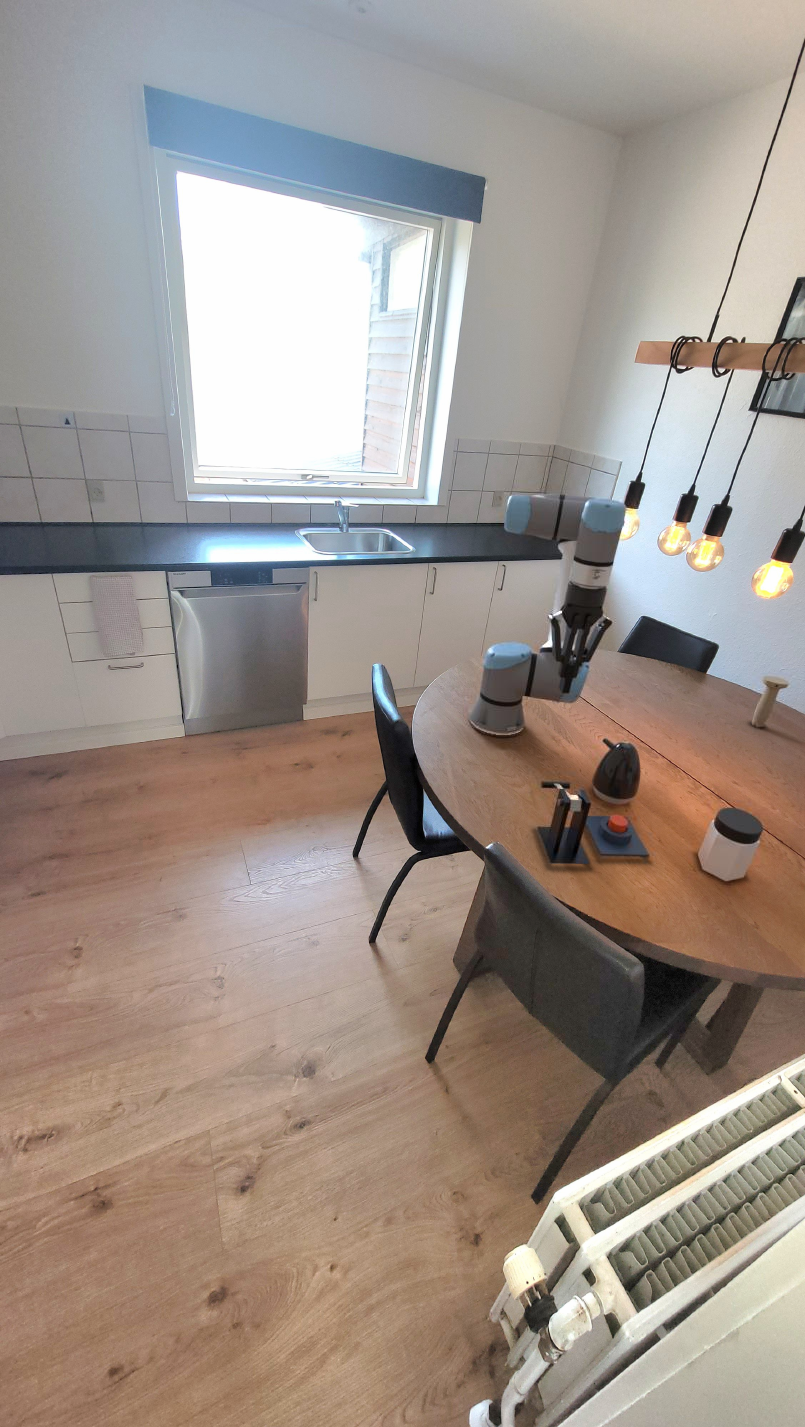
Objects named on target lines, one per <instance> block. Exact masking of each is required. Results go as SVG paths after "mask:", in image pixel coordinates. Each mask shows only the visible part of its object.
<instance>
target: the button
mask: <svg viewBox="0 0 805 1427" xmlns="http://www.w3.org/2000/svg"><path fill="white" fill-rule="evenodd" d="M610 816H611V817H610V820H609V823H608V828H609V829H611V830H612V831H614V832H617V833H624V832H625V831H626V828H627V825H628V821H627V819H626V818H624V817H625V816H623V815H621V814H612V815H610Z"/></svg>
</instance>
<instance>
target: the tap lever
mask: <svg viewBox="0 0 805 1427" xmlns="http://www.w3.org/2000/svg"><path fill="white" fill-rule="evenodd" d="M540 787H541V789H554V790H555V791H556V792H557V793H558V794H559V790H560V789H565V791H566V793H567V795H568V797H569V799H570V802H571V804H570V808H569V812H574V811H581V804H582V800H581V799H580V798H579V797H578V794H577V795H576V794H570V793H569V791H567V790H569V789H571V782H569V781H545V780H544V781H541V782H540Z"/></svg>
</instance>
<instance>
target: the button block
mask: <svg viewBox="0 0 805 1427" xmlns="http://www.w3.org/2000/svg"><path fill="white" fill-rule="evenodd" d="M611 816H612V815H609V816H607V815H588V817H587V820H586V824H585V827H586V829H587V830H588V832H589V834H590V837H591V839H592V841H593V843H594V845H595V847H596V849H597V851H598V853H599V856H604V857H606V856H607V857H610V856H611V857H650V854H649V852H648V850H647V848H646V847H645V845H644V843H643V841H642V840H641V838H640V837H639V835H638V833H637V832H636V830H635V828H634V827H633V825H632V823H631V822H630V820H629V818H628V817H627V816H623V817H624V818H626V819H627V821H628V825H627V828H626V831H625V832H624V833H617V832H614V831H612V830H611V829H609V828H608V823H609V820H610V817H611Z"/></svg>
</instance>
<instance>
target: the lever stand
mask: <svg viewBox="0 0 805 1427" xmlns="http://www.w3.org/2000/svg"><path fill="white" fill-rule="evenodd" d="M565 790H566V789H560V790H559V793H558V794H557V798H556V802H555V806H554V811H553V814H552V818H551V823H550V826H538V825H537V826H536V829H537V832H538V834H539V836H540V839H541V842H542V844H543V848H544V850H545V853H546V855H547V858H548V860H549V863H550V864H563V865H565V864H566V865H567V864H568V865H569V864H570V865H575V864H576V865H590V864H591V863H590V860H589V858H588V856H587V854H586V852H585V850H584V848H583V847H584V846H583V845H582V843H581V842H582V837H583V834H584V830H585V827H586V820H587V817H588V816H589V813H590V810H591V806H592V801H591V800H590V798H589V796H588V794H587V792H586V790H585V789H583V788H580V789H579V790H578V793H577V796H578V797H579V798H580V799H581V800H582V804H581V811H572V816H571V820H570V822H569V823H570V825H569V826H566V823H567V820H568V816H569V812H570V811H569V808H570V804H571V802H570V799H569V797H568V795H567V793H566V791H567V790H566V791H565Z"/></svg>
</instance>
